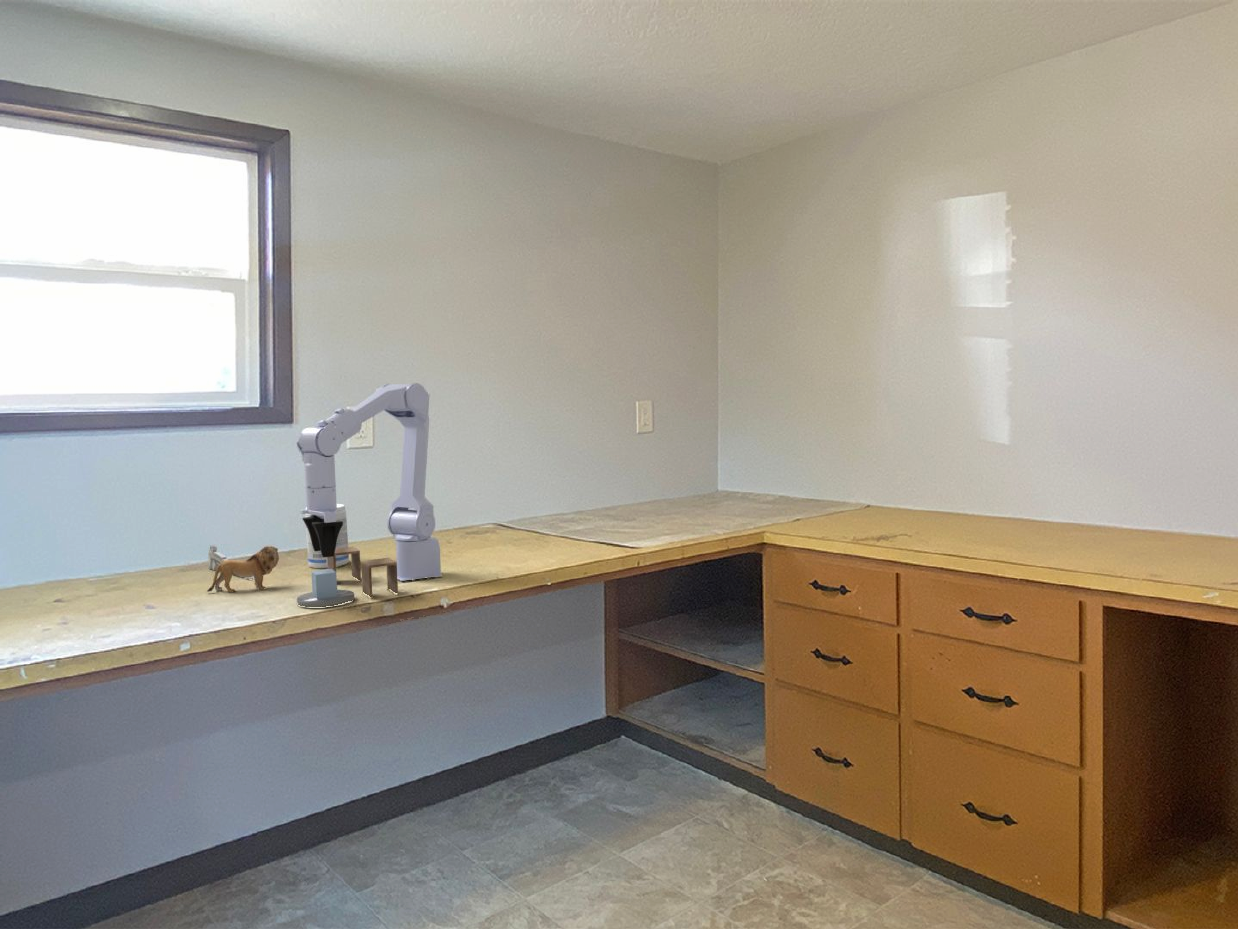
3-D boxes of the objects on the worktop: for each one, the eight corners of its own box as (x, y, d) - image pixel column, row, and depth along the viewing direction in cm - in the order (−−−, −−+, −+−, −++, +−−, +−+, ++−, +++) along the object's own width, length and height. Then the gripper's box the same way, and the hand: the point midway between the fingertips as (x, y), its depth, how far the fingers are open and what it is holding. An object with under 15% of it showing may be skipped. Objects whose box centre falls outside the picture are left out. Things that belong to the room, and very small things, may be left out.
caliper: (208, 570, 206) (207, 545, 206) (213, 569, 207) (211, 544, 206) (250, 581, 193) (248, 554, 193) (255, 580, 194) (253, 553, 194)
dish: (346, 592, 180) (346, 587, 179) (360, 603, 170) (360, 597, 170) (292, 600, 174) (292, 594, 174) (303, 611, 164) (303, 605, 164)
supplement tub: (344, 559, 216) (341, 502, 214) (353, 566, 207) (350, 506, 206) (304, 564, 211) (301, 505, 209) (311, 571, 202) (309, 510, 201)
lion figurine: (277, 582, 191) (275, 543, 190) (282, 587, 186) (280, 546, 185) (205, 591, 183) (203, 550, 182) (208, 596, 178) (206, 554, 178)
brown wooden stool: (389, 590, 182) (388, 557, 181) (398, 595, 177) (396, 562, 176) (362, 593, 179) (361, 561, 178) (370, 599, 174) (368, 565, 173)
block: (312, 595, 173) (311, 571, 172) (332, 592, 175) (331, 568, 174) (316, 599, 169) (315, 574, 169) (337, 596, 171) (336, 572, 171)
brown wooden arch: (354, 576, 195) (353, 546, 195) (360, 581, 190) (359, 550, 190) (328, 580, 192) (326, 549, 192) (334, 584, 187) (333, 553, 187)
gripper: (292, 485, 174) (295, 550, 175) (307, 491, 162) (310, 561, 163) (328, 482, 178) (331, 546, 179) (345, 488, 165) (348, 557, 167)
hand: (323, 553), depth 171 cm, fingers open, 7 cm apart
